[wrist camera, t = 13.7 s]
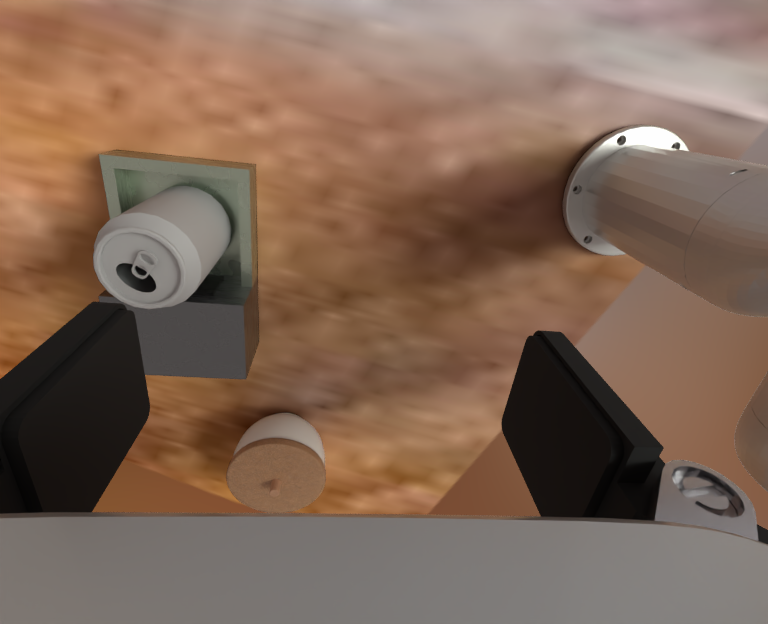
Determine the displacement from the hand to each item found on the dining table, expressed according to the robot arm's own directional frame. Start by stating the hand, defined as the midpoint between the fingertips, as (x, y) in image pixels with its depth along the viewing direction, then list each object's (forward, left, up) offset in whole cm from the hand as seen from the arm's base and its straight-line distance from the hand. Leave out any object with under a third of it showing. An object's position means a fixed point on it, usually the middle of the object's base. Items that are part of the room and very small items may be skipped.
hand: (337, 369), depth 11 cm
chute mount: (+14, +11, -33) cm, 38 cm away
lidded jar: (+5, +33, -34) cm, 47 cm away
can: (+14, +7, -33) cm, 36 cm away
